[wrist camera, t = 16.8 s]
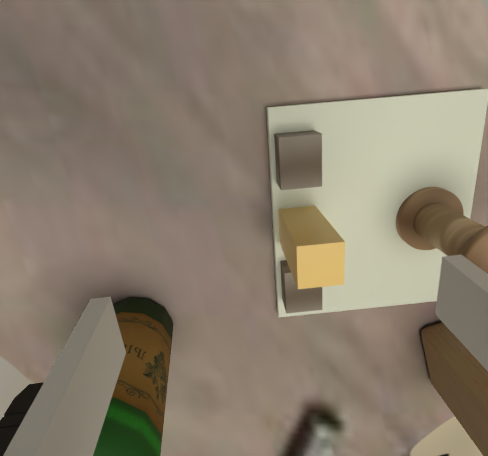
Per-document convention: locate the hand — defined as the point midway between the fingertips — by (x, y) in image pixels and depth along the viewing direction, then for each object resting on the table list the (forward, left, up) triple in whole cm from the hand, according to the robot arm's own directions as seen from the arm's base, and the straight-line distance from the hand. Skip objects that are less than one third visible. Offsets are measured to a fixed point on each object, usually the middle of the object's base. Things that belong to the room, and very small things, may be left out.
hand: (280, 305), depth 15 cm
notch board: (+6, +5, -25) cm, 26 cm away
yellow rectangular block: (+6, +5, -25) cm, 26 cm away
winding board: (+6, +14, -26) cm, 30 cm away
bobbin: (+7, +20, -25) cm, 32 cm away
